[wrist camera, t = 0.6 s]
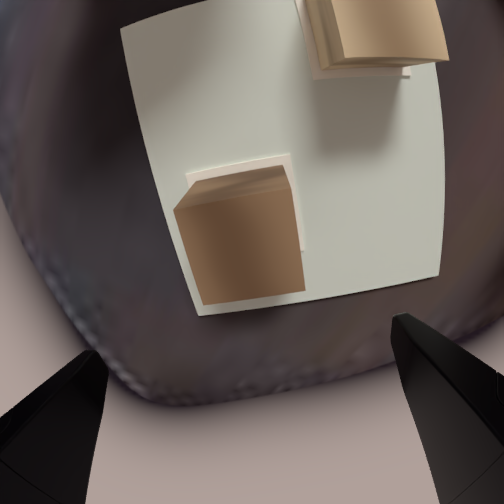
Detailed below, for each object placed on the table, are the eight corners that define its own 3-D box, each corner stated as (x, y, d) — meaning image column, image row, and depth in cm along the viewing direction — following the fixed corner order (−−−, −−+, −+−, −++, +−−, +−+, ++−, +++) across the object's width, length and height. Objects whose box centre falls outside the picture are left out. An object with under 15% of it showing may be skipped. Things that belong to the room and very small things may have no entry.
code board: (413, -8, 12) (418, -11, 11) (435, 271, 21) (439, 277, 20) (124, 30, 14) (118, 28, 13) (199, 310, 23) (197, 318, 22)
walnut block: (282, 164, 17) (291, 187, 12) (295, 244, 19) (305, 290, 15) (195, 181, 17) (172, 210, 13) (215, 257, 20) (203, 305, 15)
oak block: (385, -8, 12) (422, -36, 7) (403, 67, 14) (449, 60, 9) (302, -9, 12) (317, -45, 8) (320, 70, 14) (344, 57, 10)
